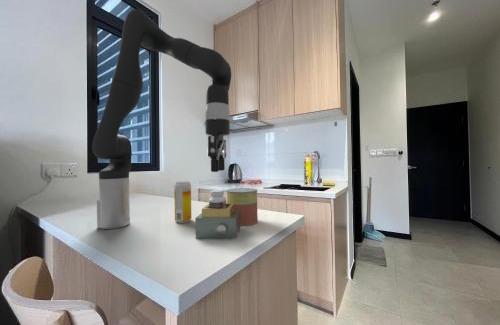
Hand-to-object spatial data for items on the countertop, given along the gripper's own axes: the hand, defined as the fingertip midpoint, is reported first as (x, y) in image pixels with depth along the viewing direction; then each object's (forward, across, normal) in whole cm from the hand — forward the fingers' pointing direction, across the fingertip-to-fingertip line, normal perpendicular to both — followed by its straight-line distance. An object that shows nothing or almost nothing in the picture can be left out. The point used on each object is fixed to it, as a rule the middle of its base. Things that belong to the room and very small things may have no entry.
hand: (218, 171), depth 67 cm
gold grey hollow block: (+20, +1, 0) cm, 20 cm away
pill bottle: (+16, 0, 0) cm, 16 cm away
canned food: (+20, -12, +6) cm, 24 cm away
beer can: (+20, -13, -17) cm, 29 cm away
